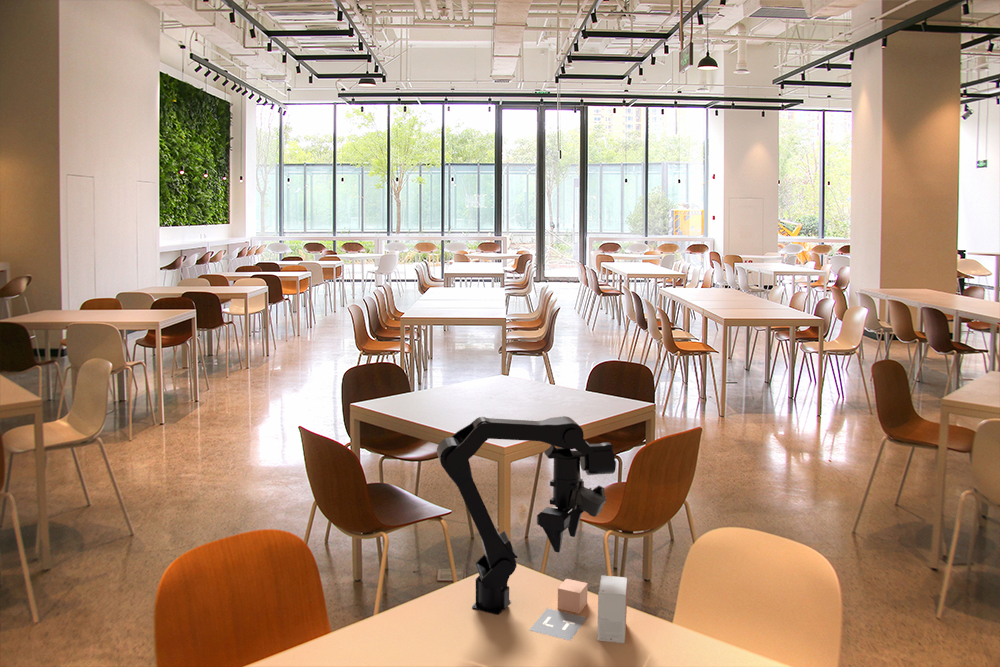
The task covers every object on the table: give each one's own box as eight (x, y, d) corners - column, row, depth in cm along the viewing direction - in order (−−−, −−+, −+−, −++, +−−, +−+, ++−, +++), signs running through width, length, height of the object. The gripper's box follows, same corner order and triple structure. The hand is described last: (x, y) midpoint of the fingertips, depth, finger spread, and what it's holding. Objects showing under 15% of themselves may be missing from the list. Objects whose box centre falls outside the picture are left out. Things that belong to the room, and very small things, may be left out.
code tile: (528, 631, 158) (528, 630, 158) (547, 609, 167) (547, 608, 167) (570, 641, 154) (570, 640, 154) (586, 618, 163) (586, 617, 163)
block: (557, 609, 167) (557, 588, 166) (565, 599, 172) (566, 578, 171) (579, 615, 165) (579, 593, 164) (587, 604, 169) (587, 583, 169)
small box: (625, 644, 153) (626, 595, 152) (596, 641, 154) (598, 592, 153) (626, 624, 161) (628, 576, 160) (599, 621, 162) (600, 574, 161)
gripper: (586, 495, 155) (585, 568, 158) (615, 469, 172) (613, 535, 174) (536, 486, 160) (535, 557, 163) (568, 461, 177) (567, 526, 179)
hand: (565, 544), depth 170 cm, fingers open, 9 cm apart
